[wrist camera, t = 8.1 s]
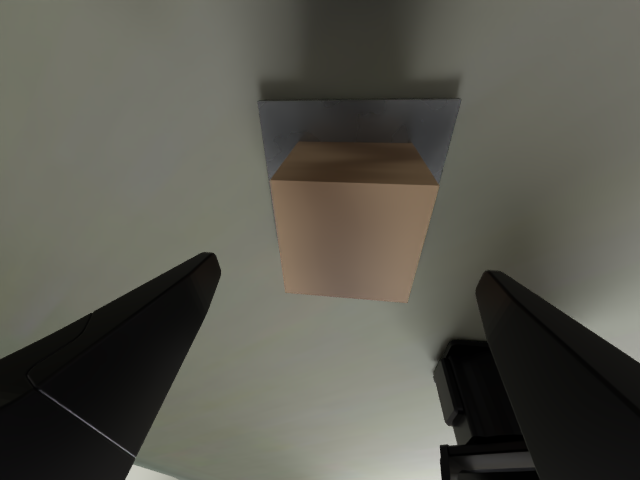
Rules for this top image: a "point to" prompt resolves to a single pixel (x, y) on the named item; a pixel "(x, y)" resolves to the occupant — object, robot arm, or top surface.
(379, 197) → the light brown cube-like block
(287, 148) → the plate
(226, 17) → the top surface
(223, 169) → the top surface
